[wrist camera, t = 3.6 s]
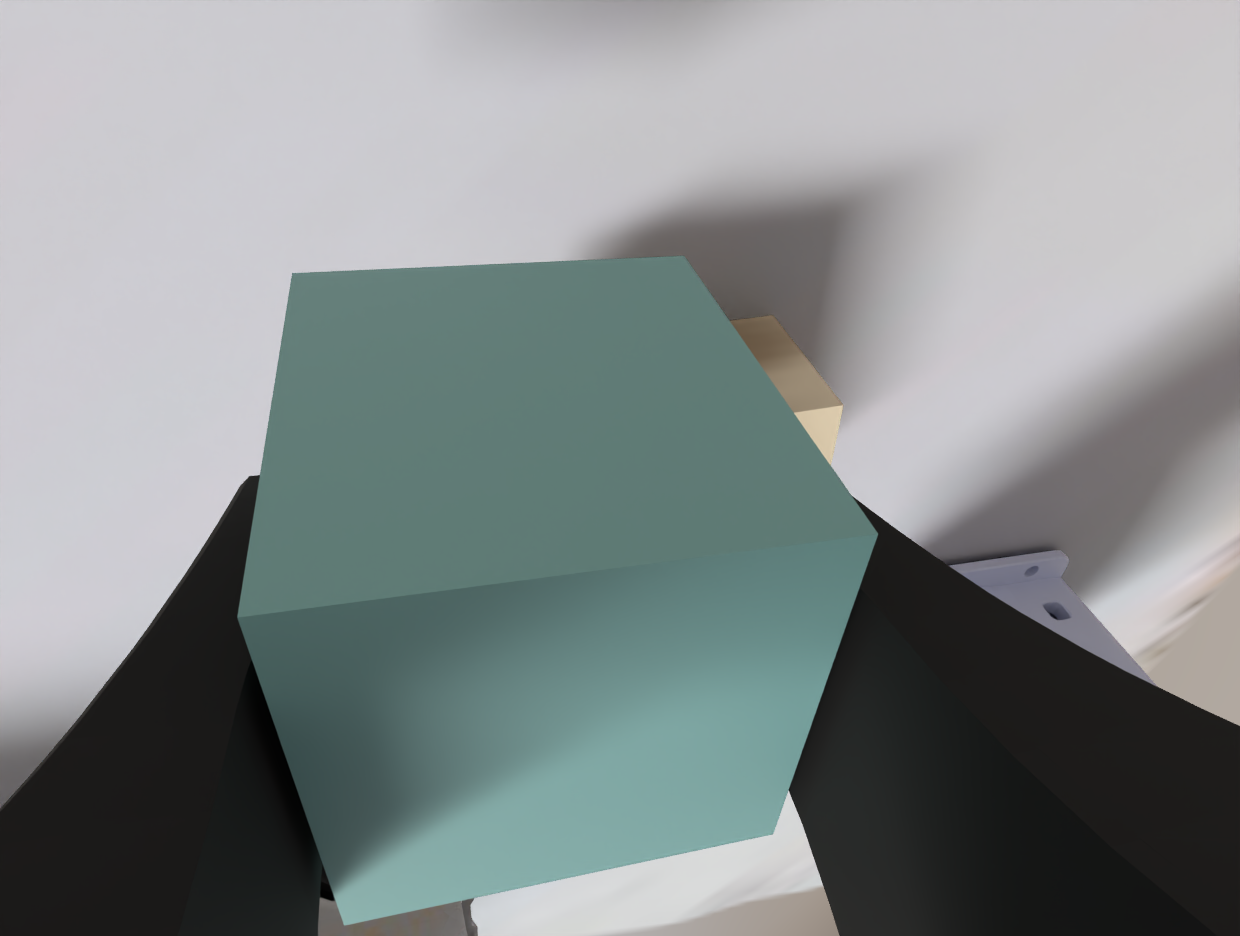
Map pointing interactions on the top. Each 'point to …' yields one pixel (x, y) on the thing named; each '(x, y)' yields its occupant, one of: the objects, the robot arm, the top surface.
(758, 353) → the beech block
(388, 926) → the toy car
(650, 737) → the teal block
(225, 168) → the top surface
